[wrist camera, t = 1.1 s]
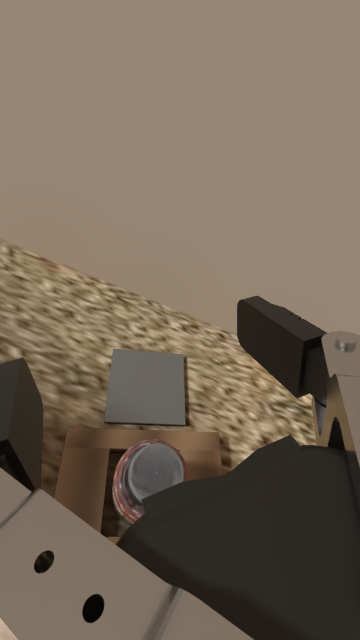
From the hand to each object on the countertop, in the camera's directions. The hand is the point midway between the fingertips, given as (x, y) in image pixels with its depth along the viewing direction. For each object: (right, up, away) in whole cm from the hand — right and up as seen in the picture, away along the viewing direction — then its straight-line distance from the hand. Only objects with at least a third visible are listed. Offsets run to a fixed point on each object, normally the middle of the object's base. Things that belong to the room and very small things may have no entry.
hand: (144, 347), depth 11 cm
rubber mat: (-3, -7, +25) cm, 26 cm away
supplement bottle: (-3, -16, +19) cm, 25 cm away
